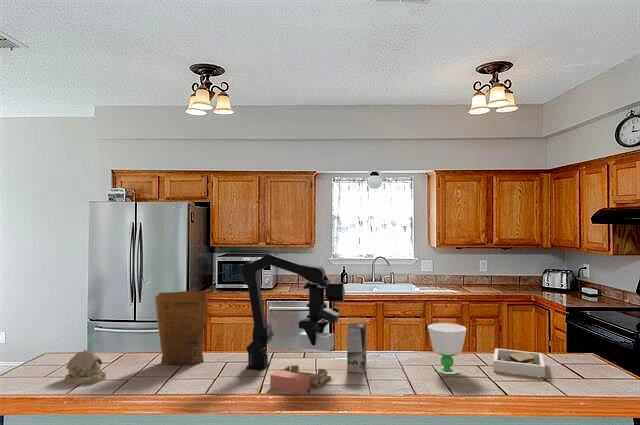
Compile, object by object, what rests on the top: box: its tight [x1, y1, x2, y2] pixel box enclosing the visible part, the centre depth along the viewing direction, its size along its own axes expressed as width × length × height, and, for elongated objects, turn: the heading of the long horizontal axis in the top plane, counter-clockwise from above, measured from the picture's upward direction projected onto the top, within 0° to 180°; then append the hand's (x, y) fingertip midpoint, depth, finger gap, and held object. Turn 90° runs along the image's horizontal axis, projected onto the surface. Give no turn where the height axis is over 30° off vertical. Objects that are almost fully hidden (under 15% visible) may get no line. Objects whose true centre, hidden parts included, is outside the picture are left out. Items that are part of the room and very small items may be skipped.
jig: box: [280, 364, 332, 389], centre depth 155 cm, size 16×10×3 cm, turn 66°
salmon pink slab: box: [269, 370, 311, 394], centre depth 148 cm, size 12×5×4 cm, turn 67°
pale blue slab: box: [298, 330, 335, 352], centre depth 165 cm, size 12×5×5 cm, turn 68°
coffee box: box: [346, 322, 367, 374], centre depth 167 cm, size 9×6×16 cm
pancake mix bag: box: [154, 290, 208, 366], centre depth 174 cm, size 7×19×28 cm, turn 92°
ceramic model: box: [64, 349, 107, 385], centre depth 157 cm, size 14×11×10 cm
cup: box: [427, 322, 467, 372], centre depth 165 cm, size 14×14×16 cm
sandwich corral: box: [492, 348, 546, 378], centre depth 168 cm, size 17×17×4 cm
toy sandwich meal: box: [500, 351, 537, 365], centre depth 169 cm, size 12×14×5 cm
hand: (316, 343), depth 165 cm, fingers closed on pale blue slab, 5 cm apart
